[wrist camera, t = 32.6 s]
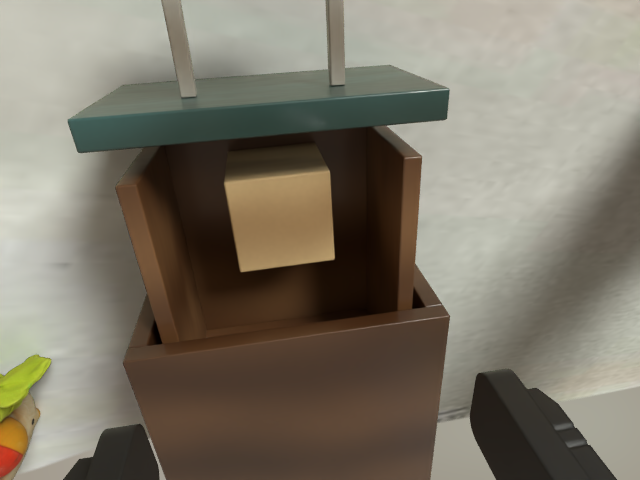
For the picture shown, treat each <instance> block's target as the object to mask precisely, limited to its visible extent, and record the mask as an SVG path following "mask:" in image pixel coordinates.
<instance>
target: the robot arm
mask: <svg viewBox="0 0 640 480" xmlns="http://www.w3.org/2000/svg"><path fill="white" fill-rule="evenodd" d="M470 422H471V428H472V431H473V434H474V437H475V439H476V441H477V444H478V446H479V447H480V449H481V451H482V453H483V455H484V457H485V459H486V461H487V463H488V465H489V467H490V469H491V470H492V472H493V474H494V476H495V478H496V480H617V479H616V478H615V477H614V475H613V474H612V473H611V472H610V470H609V469H608V468H607V466H606V465H605V464H604V463H603V461H602V460H601V459H600V457H599V456H598V455H597V453H596V452H595V451H594V450H593V448H592V447H591V446H590V445H588V444H587V440H586V439H585V438H584V437H583V435H582V434H581V433H580V431H579V430H578V429H577V428H575V427H574V424H573V422H572V421H571V420H570V419H569V418H568V416H567V415H566V414H565V412H564V411H563V410H562V408H561V407H560V406H559V404H558V403H556V402H555V401H554V400H552V399H551V398H550V397H548V396H547V395H546V394H544V393H543V392H541V391H540V390H539V389H537V388H532V389H526V388H525V386H524V385H523V383H522V382H521V381H520V379H519V378H518V377H517V375H516V374H515V373H514V372H513V371H512V370H511V369H502V370H495V371H489V372H482V373H478V374H477V376H476V380H475V387H474V393H473V399H472V405H471V411H470ZM63 480H159V469H158V464H157V461H156V459H155V456H154V454H153V451H152V448H151V446H150V443H149V440H148V438H147V435H146V432H145V430H144V428H143V426H142V425H141V424H136V425H129V426H123V427H116V428H110V429H106V430H104V431H103V433H102V434H101V436H100V439H99V442H98V444H97V447H96V450H95V453H94V456H93V457H90V458H84V459H79V460H78V461H77V463H76V464H75V465H74V467H73V468H72V469H71V470H70V472H69V473H68V474H67V475H66V477H65V478H64V479H63Z"/></svg>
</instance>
